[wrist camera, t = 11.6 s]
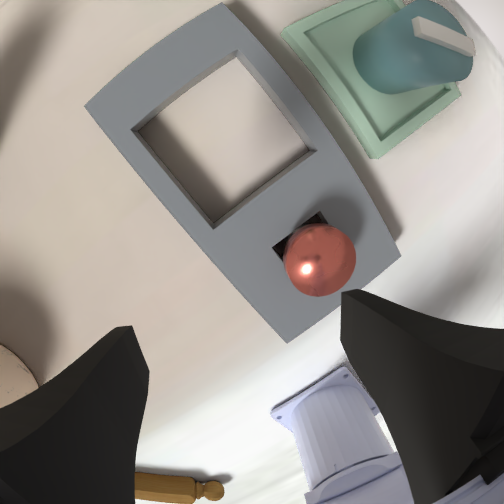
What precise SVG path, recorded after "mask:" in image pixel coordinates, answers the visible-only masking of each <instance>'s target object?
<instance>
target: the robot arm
mask: <svg viewBox="0 0 504 504" xmlns="http://www.w3.org/2000/svg"><path fill="white" fill-rule="evenodd" d="M340 341H341V343H342V346H343V348H344V350H345V353H346V355H347V357H348V359H349V361H350V363H351V365H352V367H353V368H354V370H355V371H356V373H357V375H358V376H359V378H360V379H361V381H362V383H363V384H364V386H365V387H366V389H367V390H368V392H369V394H370V395H371V397H372V398H373V399H372V398H371V397H370V395H369V394H368V393H367V392H366V390H365V389H364V388H363V387H362V386H361V384H360V383H359V382H358V381H357V379H356V378H355V377H354V376H353V375H352V373H351V372H350V371H349V370H348V369H347V368H346V367H341V368H339V369H338V370H336V371H335V372H333V373H332V374H330V375H329V376H327V377H326V378H324V379H323V380H321V381H320V382H318V383H317V384H315V385H314V386H312V387H310V388H309V389H307V390H306V391H304V392H302V393H301V394H299V395H298V396H296V397H294V398H293V399H291V400H289V401H288V402H286V403H284V404H282V405H281V406H279V407H277V408H275V409H274V410H272V411H271V412H270V415H271V417H272V418H273V419H274V420H276V421H277V422H278V423H280V424H281V425H283V426H284V427H286V428H287V429H288V430H290V431H291V432H293V434H294V438H295V441H296V445H297V448H298V452H299V455H300V459H301V462H302V466H303V469H304V472H305V476H306V479H307V483H308V486H309V489H310V492H307V493H305V494H304V495H305V499H306V503H307V504H504V329H495V328H484V327H477V326H470V325H464V324H459V323H455V322H451V321H446V320H442V319H439V318H435V317H432V316H429V315H426V314H423V313H420V312H417V311H414V310H411V309H409V308H406V307H403V306H401V305H398V304H396V303H393V302H391V301H389V300H386V299H384V298H381V297H379V296H376V295H374V294H371V293H369V292H366V291H363V290H360V289H354V290H349V291H344V292H341V334H340ZM344 375H345V376H344ZM148 385H149V369H148V366H147V364H146V361H145V359H144V356H143V354H142V351H141V349H140V346H139V343H138V341H137V338H136V335H135V333H134V330H133V327H132V326H123V327H116V328H114V329H113V330H111V331H110V332H109V333H107V334H106V335H105V336H104V337H103V338H101V339H100V340H99V341H98V342H97V343H96V344H94V345H93V346H92V347H91V348H90V349H89V350H87V351H86V352H85V353H84V354H83V355H82V356H81V357H79V358H78V359H77V360H76V361H74V362H73V363H72V364H71V365H69V366H68V367H67V368H66V369H64V370H63V371H62V372H61V373H60V374H58V375H57V376H56V377H54V378H53V379H51V380H50V381H49V382H47V383H45V384H44V385H42V386H41V387H39V388H38V389H36V390H35V391H33V392H31V393H29V394H28V395H26V396H24V397H22V398H20V399H18V400H16V401H15V402H13V403H11V404H9V405H6V406H4V407H2V408H0V504H135V460H136V450H137V444H138V439H139V434H140V429H141V424H142V419H143V415H144V410H145V405H146V401H147V396H148ZM379 412H381V414H382V416H383V418H384V420H385V422H386V424H387V427H388V429H389V431H390V433H391V436H392V438H393V440H394V443H395V445H396V448H397V451H398V452H394V451H393V449H392V447H391V445H390V444H389V442H388V440H387V438H386V436H385V434H384V433H383V431H382V429H381V427H380V426H379V424H378V422H377V420H376V418H375V417H374V416H375V415H377V414H378V413H379ZM398 453H399V454H398Z"/></svg>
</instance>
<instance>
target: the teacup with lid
mask: <svg viewBox="0 0 504 504" xmlns="http://www.w3.org/2000/svg"><path fill="white" fill-rule="evenodd" d="M38 388H39V387H38V384H37V382H36V380H35V378H34V377H33V375H32V374H31V372H30V371H29V369H28V368H27V367H26V366H25V364H24V363H23V362H22V361H21V360H20V359H19V358H18V357H17V356H16V355H15V354H13V353H12V352H11V351H10V350H8V349H7V348H5V347H4V346H2V345H0V408H2V407H4V406H6V405H9V404H11V403H13V402H15V401H16V400H18V399H20V398H22V397H24V396H26V395H28V394H29V393H31V392H33V391H35V390H36V389H38Z"/></svg>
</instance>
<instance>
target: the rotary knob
mask: <svg viewBox="0 0 504 504" xmlns="http://www.w3.org/2000/svg"><path fill="white" fill-rule="evenodd" d="M473 56H476V52H475V47H474V42H473V39H471V38H469V37H467V35H466V33H465V31H464V30H463V28H462V26H461V25H460V24H459V22H458V21H457V20H456V19H455V17H454V16H453V15H452V14H451V13H450V12H448V11H447V10H446V9H445V8H443V7H442V6H440V5H439V4H437V3H435V2H432V1H429V0H416V1H414V2H412V3H410V4H409V5H407V6H405V7H404V8H402V9H400V10H399V11H397V12H396V13H394V14H392V15H391V16H389V17H388V18H386V19H385V20H383V21H382V22H380V23H378V24H377V25H375V26H374V27H372V28H371V29H370V30H368V31H367V32H365V33H364V34H362V35H361V36H359V37H358V38H357V40H356V41H355V43H354V46H353V61H354V64H355V67H356V69H357V71H358V73H359V74H360V76H361V77H362V79H363V80H364V81H365V82H366V83H367V84H368V85H369V86H370V87H372V88H373V89H375V90H377V91H379V92H381V93H384V94H390V95H392V94H398V93H403V92H407V91H411V90H416V89H420V88H425V87H430V86H435V85H440V84H445V83H450V82H456V81H461V80H464V79H465V78H467V77H468V75H469V74H470V72H471V69H472V65H473Z"/></svg>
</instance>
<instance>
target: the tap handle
mask: <svg viewBox="0 0 504 504" xmlns="http://www.w3.org/2000/svg"><path fill="white" fill-rule="evenodd" d="M203 496H205V497H206V498H207V499H208V500H211V501H217V500H220V499H221V498H222V497H223V496H224V487H223V485H222V484H221V483H219V482H217V481H209V482H207V483H205V484H204V485H202V484H200V483H199V482H196V483H195V480H194V479H193V478H192V477H183V476H169V475H158V474H149V473H141V472H135V499H141V500H149V501H157V502H166V503H178V504H193V503H194V502H195V500H196V498H197V499H200V498H201V497H203Z"/></svg>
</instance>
